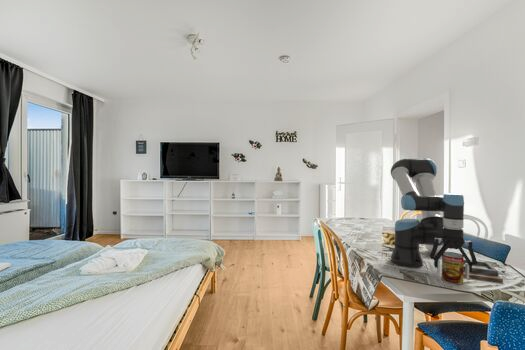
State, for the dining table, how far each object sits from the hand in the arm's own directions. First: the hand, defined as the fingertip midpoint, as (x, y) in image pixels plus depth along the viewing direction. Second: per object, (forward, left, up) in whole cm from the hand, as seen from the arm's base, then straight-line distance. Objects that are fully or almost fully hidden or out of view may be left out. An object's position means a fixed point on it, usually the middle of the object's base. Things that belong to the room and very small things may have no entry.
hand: (452, 276), depth 119 cm
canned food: (0, 0, -2) cm, 2 cm away
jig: (+11, +16, -2) cm, 19 cm away
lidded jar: (0, +45, -2) cm, 45 cm away
